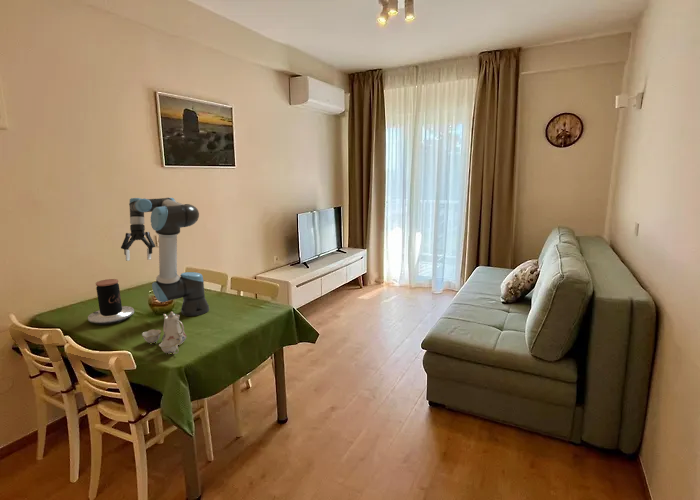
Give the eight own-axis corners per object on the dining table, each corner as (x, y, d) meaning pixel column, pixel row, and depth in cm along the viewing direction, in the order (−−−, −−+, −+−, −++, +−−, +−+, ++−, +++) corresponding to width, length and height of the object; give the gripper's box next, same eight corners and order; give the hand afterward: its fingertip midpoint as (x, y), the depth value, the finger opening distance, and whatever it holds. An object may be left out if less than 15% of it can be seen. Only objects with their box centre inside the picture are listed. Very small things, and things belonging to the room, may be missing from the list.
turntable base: (134, 314, 224) (134, 310, 224) (115, 325, 209) (115, 321, 208) (109, 313, 226) (108, 310, 226) (88, 324, 210) (87, 320, 210)
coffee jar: (112, 317, 210) (107, 285, 207) (95, 315, 213) (90, 284, 209) (127, 309, 221) (122, 279, 217) (110, 308, 223) (106, 278, 219)
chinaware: (137, 347, 187) (129, 316, 182) (169, 331, 200) (162, 302, 195) (171, 363, 171) (163, 329, 166) (203, 345, 184) (196, 313, 179)
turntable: (142, 308, 226) (142, 306, 226) (116, 323, 205) (116, 320, 205) (107, 307, 229) (107, 305, 228) (78, 322, 207) (77, 319, 207)
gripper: (160, 223, 234) (162, 259, 234) (122, 226, 237) (123, 261, 236) (153, 222, 227) (154, 259, 226) (113, 225, 230) (114, 261, 229)
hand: (138, 260), depth 231 cm, fingers open, 13 cm apart
